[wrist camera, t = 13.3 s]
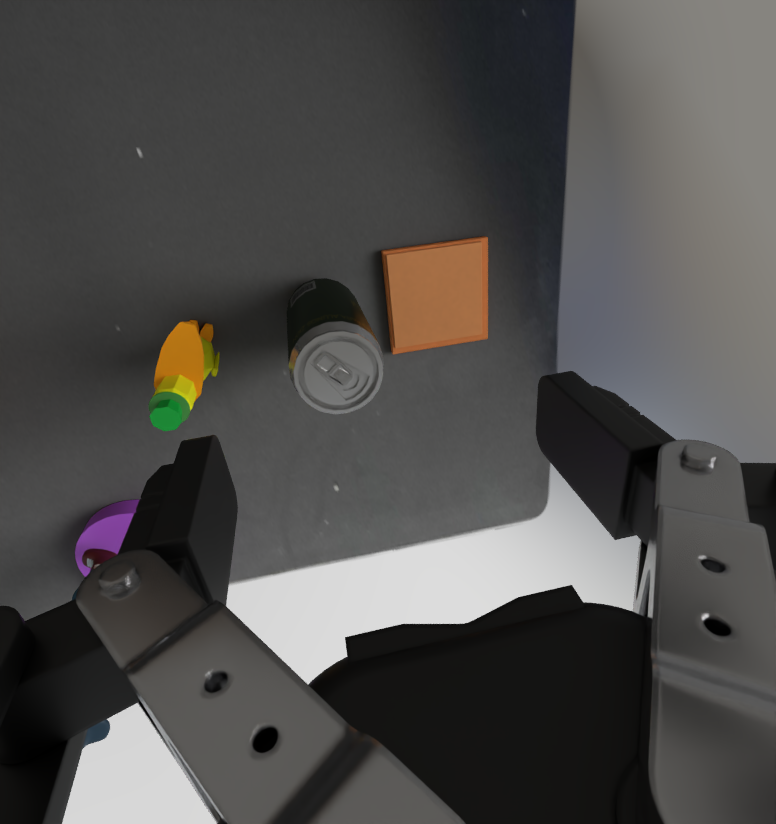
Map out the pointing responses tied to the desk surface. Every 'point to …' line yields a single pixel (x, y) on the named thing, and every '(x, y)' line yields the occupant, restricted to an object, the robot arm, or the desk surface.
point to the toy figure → (181, 373)
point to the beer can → (332, 348)
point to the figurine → (94, 549)
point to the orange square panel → (436, 294)
